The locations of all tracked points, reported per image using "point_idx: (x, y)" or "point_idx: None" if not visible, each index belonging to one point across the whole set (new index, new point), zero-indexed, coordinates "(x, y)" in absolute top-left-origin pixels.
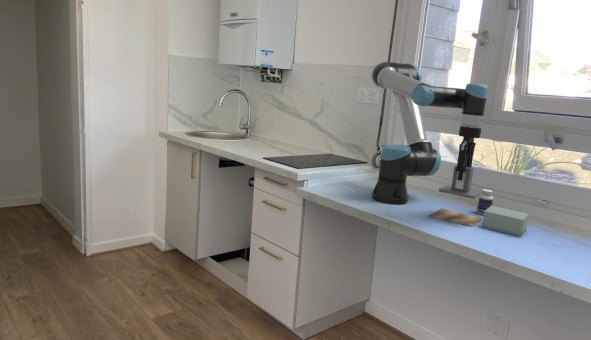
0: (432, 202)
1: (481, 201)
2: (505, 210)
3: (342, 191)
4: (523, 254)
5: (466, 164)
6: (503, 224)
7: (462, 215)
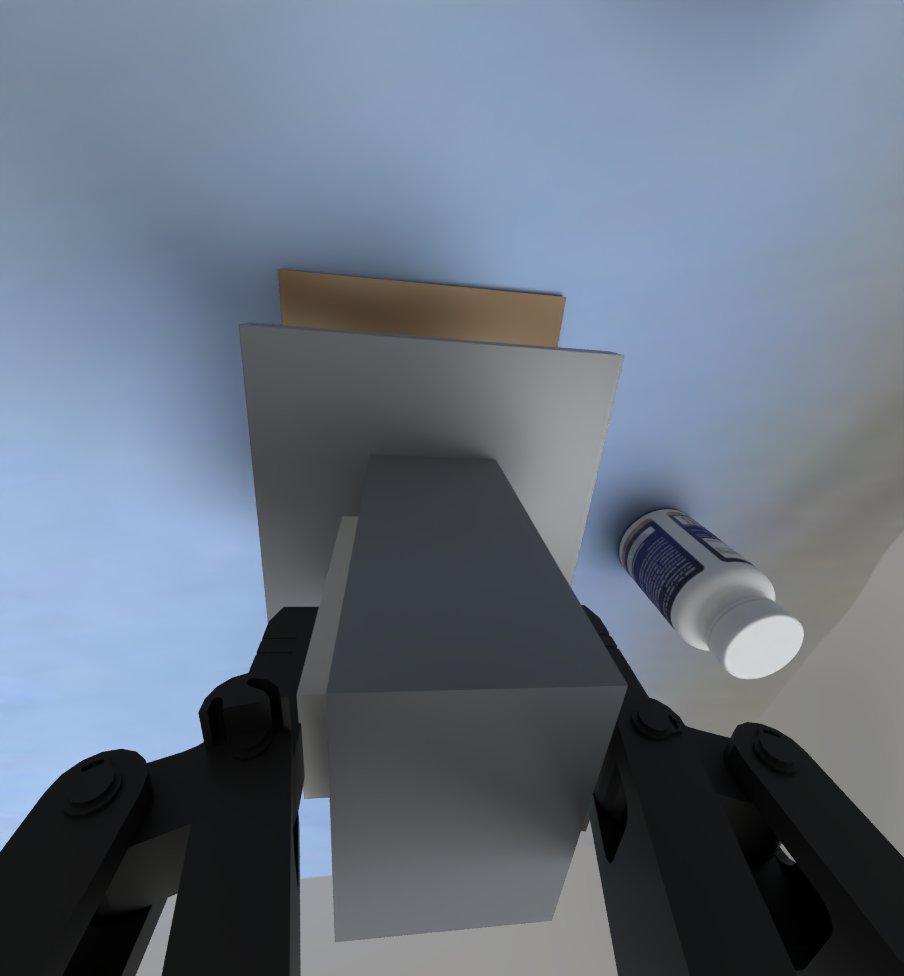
0: (747, 170)
1: (669, 575)
2: None
3: None
4: None
5: (623, 885)
6: None
7: None
